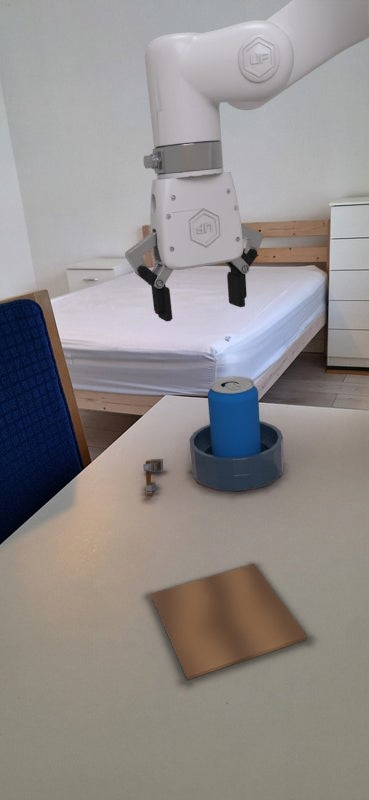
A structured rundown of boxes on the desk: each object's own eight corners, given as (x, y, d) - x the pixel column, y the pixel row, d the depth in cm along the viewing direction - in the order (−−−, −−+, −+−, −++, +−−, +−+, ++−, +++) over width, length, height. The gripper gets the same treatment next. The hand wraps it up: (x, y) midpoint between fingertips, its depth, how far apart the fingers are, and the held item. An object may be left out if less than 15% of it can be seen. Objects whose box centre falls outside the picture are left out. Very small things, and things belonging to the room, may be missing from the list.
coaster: (254, 566, 61) (254, 563, 61) (307, 639, 52) (307, 636, 51) (151, 597, 58) (151, 593, 58) (187, 680, 49) (186, 676, 48)
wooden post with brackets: (140, 497, 74) (138, 461, 75) (151, 490, 82) (149, 457, 83) (154, 497, 74) (153, 460, 74) (164, 490, 82) (162, 457, 82)
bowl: (259, 444, 88) (258, 412, 86) (300, 480, 77) (299, 445, 75) (181, 462, 84) (177, 430, 82) (211, 503, 73) (208, 467, 72)
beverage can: (248, 452, 84) (243, 371, 80) (270, 471, 78) (266, 386, 74) (206, 463, 82) (199, 381, 78) (225, 483, 76) (219, 396, 72)
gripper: (125, 168, 61) (145, 331, 67) (273, 154, 66) (279, 305, 73) (106, 171, 67) (125, 319, 74) (242, 157, 73) (249, 295, 79)
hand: (201, 312), depth 73 cm, fingers open, 9 cm apart
